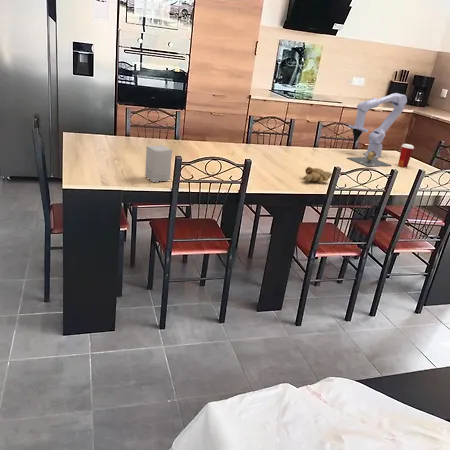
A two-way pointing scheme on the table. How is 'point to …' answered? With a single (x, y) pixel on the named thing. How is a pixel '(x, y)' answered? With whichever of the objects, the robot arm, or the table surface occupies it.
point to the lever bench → (369, 161)
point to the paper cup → (405, 155)
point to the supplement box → (158, 163)
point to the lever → (371, 155)
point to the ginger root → (316, 175)
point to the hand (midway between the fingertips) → (355, 140)
